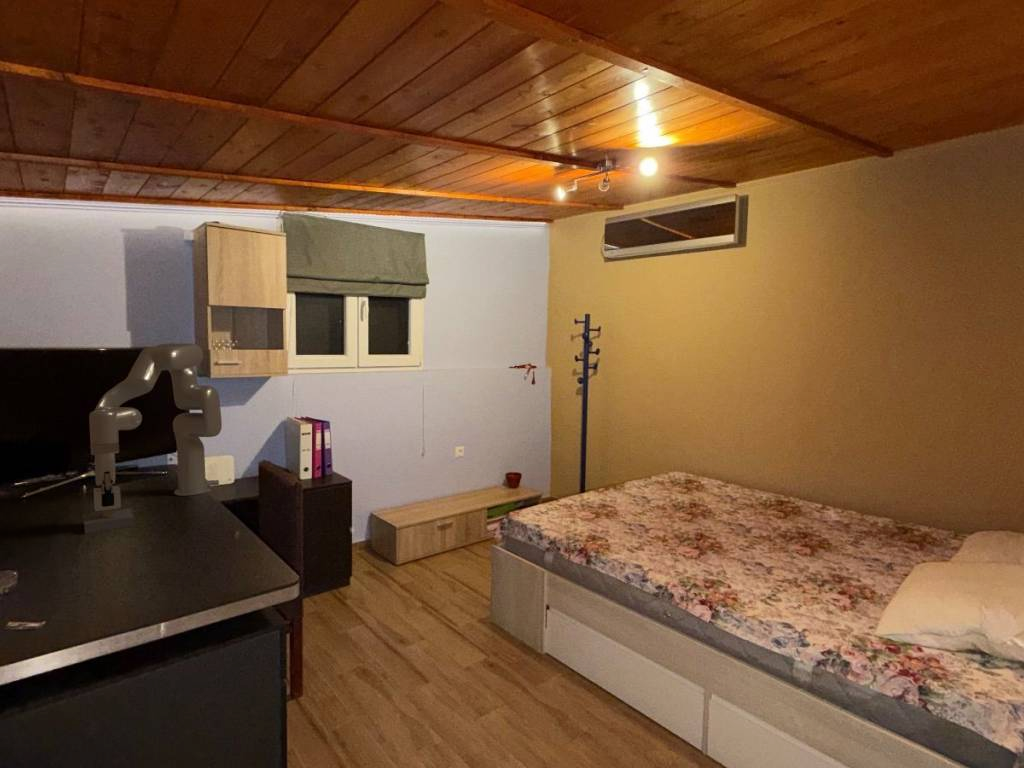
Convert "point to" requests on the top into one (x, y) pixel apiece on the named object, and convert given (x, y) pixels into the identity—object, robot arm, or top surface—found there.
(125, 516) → the grey block
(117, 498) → the grey cube
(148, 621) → the top surface
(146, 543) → the top surface
